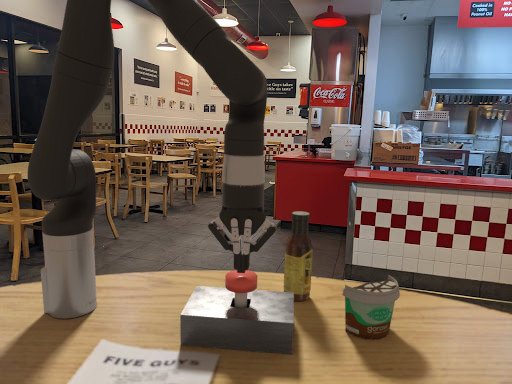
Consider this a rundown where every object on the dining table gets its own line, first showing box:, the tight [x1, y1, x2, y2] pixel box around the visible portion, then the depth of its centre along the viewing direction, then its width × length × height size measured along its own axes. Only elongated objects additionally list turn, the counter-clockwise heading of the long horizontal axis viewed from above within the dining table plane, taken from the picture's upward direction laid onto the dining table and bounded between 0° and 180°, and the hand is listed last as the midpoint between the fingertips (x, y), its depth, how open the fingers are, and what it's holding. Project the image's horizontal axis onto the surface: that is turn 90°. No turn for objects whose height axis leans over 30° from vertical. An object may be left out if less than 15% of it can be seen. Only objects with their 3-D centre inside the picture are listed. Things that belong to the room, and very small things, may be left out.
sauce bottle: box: [283, 211, 314, 302], centre depth 89 cm, size 7×6×20 cm
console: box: [179, 285, 295, 355], centre depth 74 cm, size 20×12×6 cm, turn 85°
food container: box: [342, 274, 401, 341], centre depth 75 cm, size 12×6×10 cm, turn 117°
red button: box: [224, 269, 258, 308], centre depth 73 cm, size 6×6×7 cm
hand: (241, 271), depth 72 cm, fingers closed
